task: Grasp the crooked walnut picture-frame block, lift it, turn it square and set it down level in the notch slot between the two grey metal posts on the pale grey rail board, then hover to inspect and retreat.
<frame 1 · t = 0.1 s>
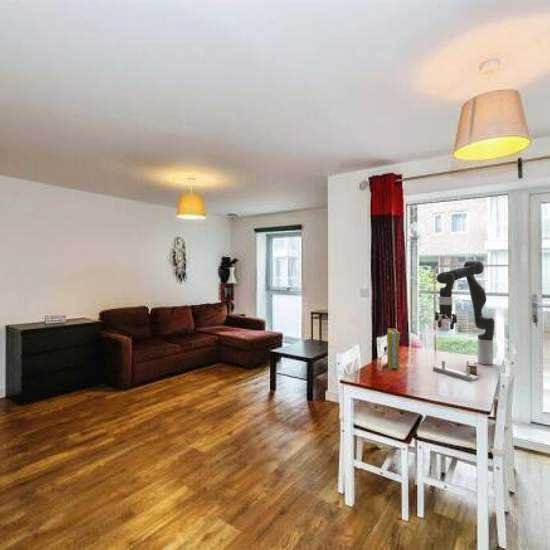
hand: (445, 328, 226), 29 cm above the table, fingers open, 8 cm apart
frame: (471, 372, 227), on the table
book: (392, 366, 243), on the table
rail board: (454, 374, 224), on the table
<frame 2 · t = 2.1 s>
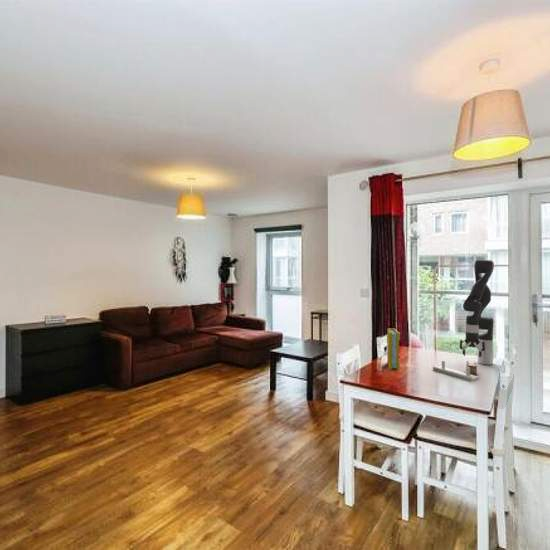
hand: (471, 356, 227), 11 cm above the table, fingers open, 8 cm apart
nothing on the table moved.
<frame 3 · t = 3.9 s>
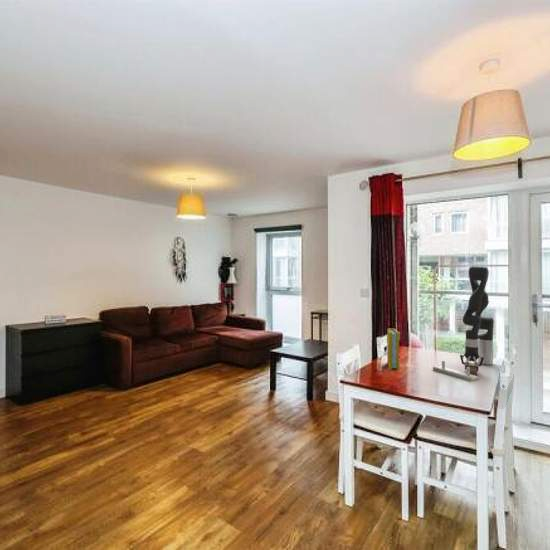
hand: (471, 371, 227), 1 cm above the table, fingers closed on frame, 5 cm apart
frame: (471, 372, 227), on the table, touching gripper
everything else where it was.
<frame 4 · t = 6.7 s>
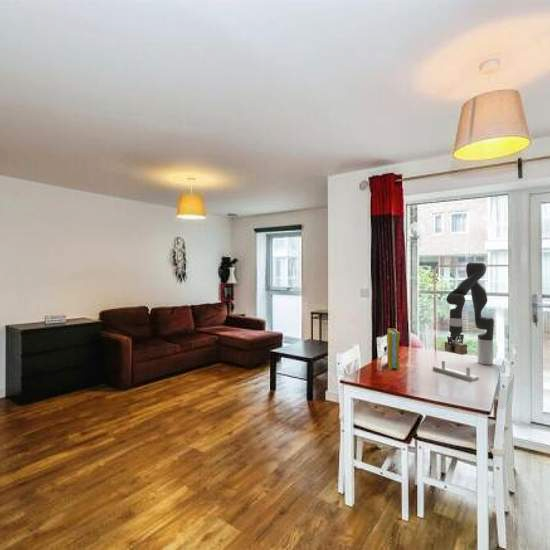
hand: (455, 351, 224), 15 cm above the table, fingers closed on frame, 5 cm apart
frame: (455, 352, 224), point 14 cm above the table, touching gripper
everything else where it was.
when the fingers open (4 cm above the table, at t = 9.5 s): frame drops 1 cm, resting on rail board.
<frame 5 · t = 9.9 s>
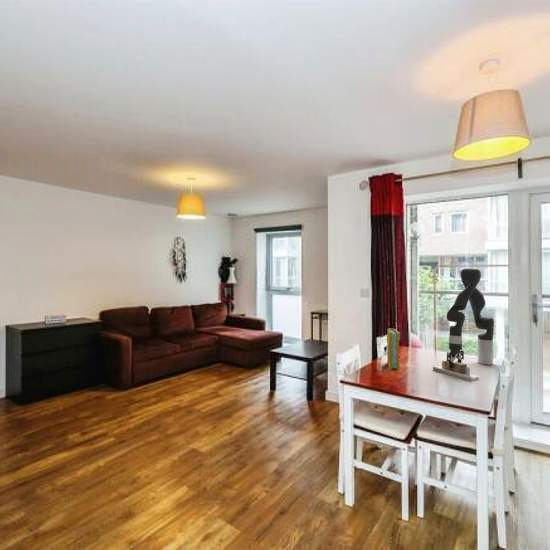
hand: (455, 367, 224), 5 cm above the table, fingers open, 8 cm apart
frame: (455, 371, 224), point 1 cm above the table, touching rail board
everything else where it was.
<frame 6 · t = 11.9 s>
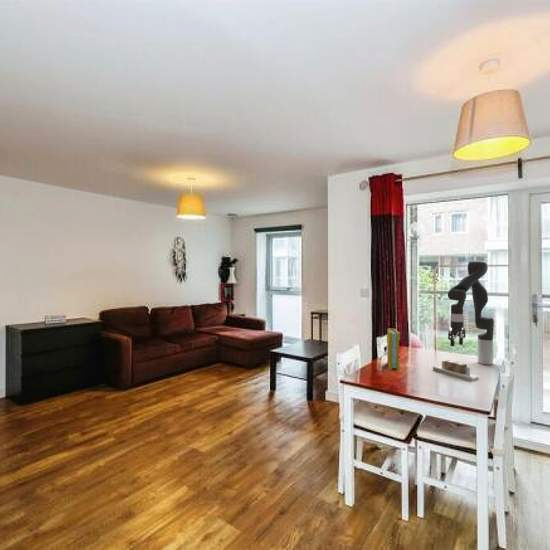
hand: (456, 345, 224), 19 cm above the table, fingers open, 8 cm apart
nothing on the table moved.
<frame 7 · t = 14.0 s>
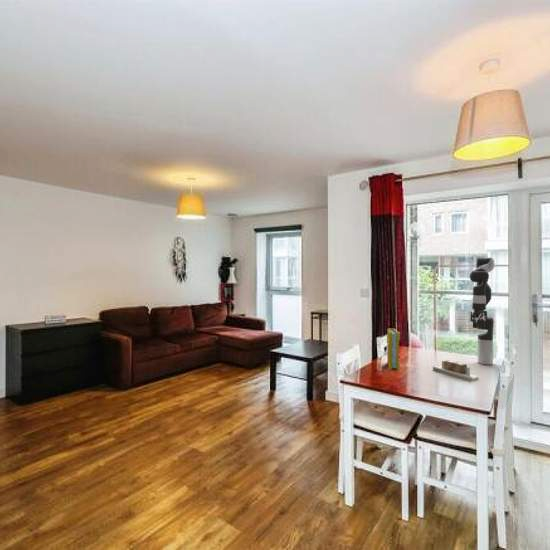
hand: (478, 327, 224), 30 cm above the table, fingers open, 8 cm apart
nothing on the table moved.
at the end: frame 0.2 cm off-centre on the rail board, point 1.5 cm above the rail board's base; frame tilted 0°; the gripper is holding nothing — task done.
